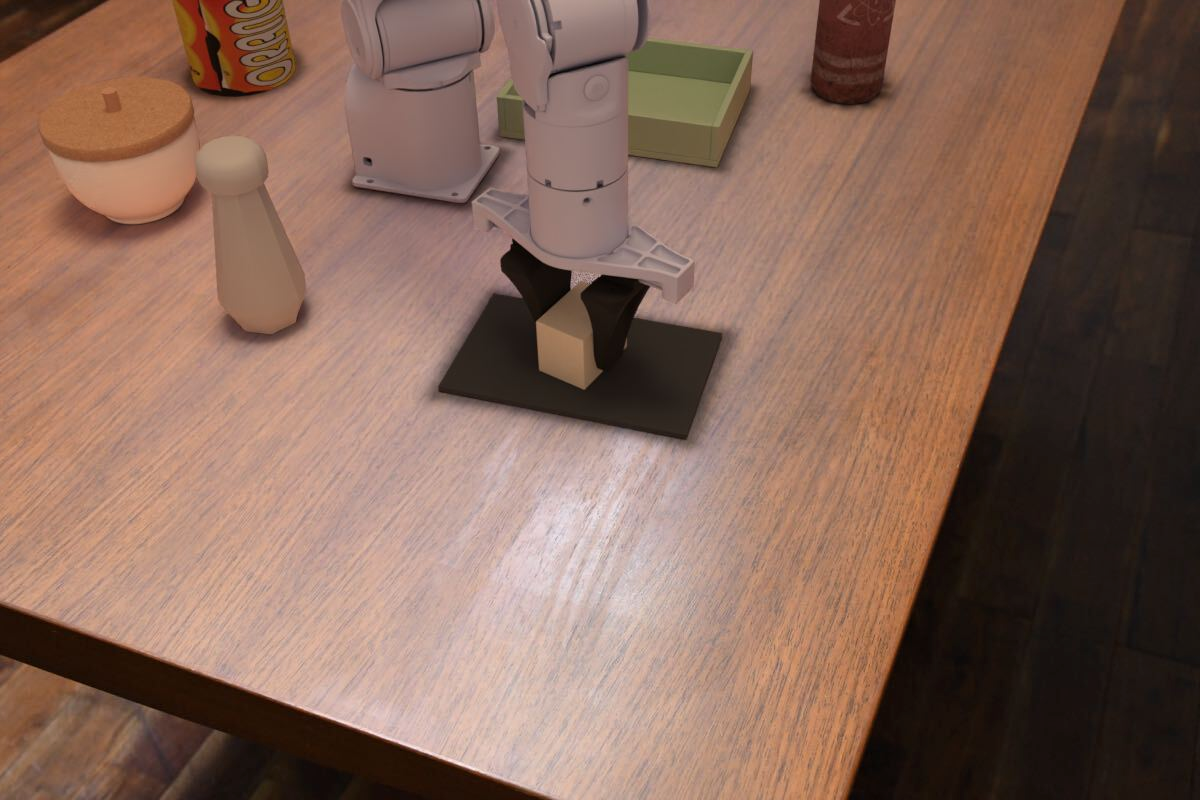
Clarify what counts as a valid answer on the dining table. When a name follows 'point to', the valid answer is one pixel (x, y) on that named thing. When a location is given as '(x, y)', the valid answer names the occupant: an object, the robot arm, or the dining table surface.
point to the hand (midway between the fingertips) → (583, 350)
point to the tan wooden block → (568, 340)
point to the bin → (670, 100)
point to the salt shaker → (249, 237)
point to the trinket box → (124, 146)
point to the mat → (617, 397)
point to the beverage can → (236, 44)
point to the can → (851, 49)
